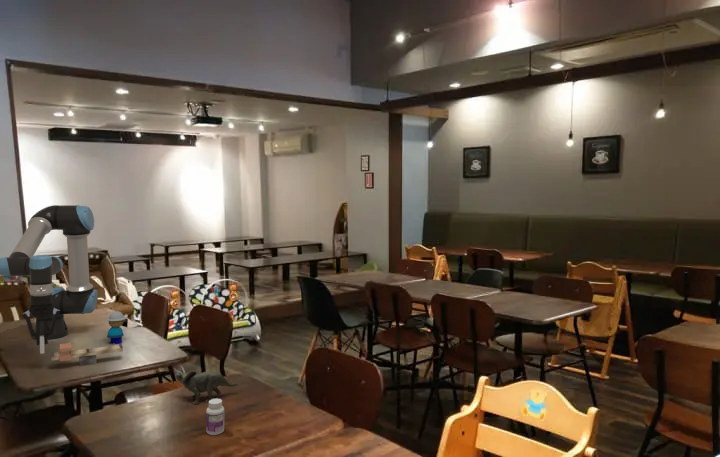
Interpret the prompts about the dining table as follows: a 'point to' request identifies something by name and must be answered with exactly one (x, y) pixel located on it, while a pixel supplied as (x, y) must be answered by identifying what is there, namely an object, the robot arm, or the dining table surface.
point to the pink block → (65, 352)
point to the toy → (116, 326)
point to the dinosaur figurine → (202, 383)
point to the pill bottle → (215, 417)
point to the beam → (89, 354)
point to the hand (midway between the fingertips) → (42, 352)
